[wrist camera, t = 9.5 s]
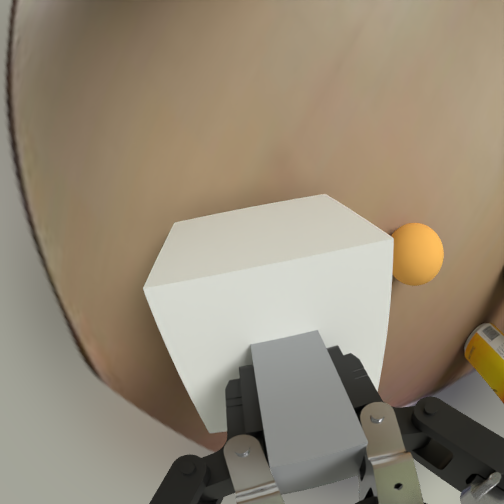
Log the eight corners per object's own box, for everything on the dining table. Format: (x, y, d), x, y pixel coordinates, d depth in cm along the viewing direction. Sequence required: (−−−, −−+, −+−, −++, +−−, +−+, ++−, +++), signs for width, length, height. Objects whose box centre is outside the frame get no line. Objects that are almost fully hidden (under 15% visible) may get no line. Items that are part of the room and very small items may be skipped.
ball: (445, 220, 21) (391, 214, 23) (448, 236, 17) (382, 228, 20) (438, 274, 22) (388, 267, 25) (438, 300, 19) (377, 291, 21)
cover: (174, 222, 19) (95, 411, 5) (325, 193, 19) (494, 316, 6) (210, 343, 23) (212, 522, 9) (333, 317, 23) (415, 472, 10)
